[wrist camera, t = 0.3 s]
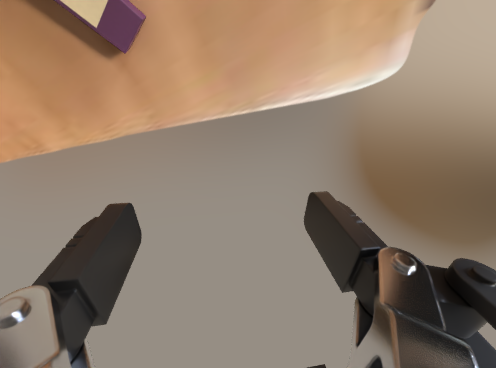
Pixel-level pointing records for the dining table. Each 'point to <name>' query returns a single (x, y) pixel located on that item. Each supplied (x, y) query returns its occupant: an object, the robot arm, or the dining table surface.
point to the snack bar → (108, 19)
